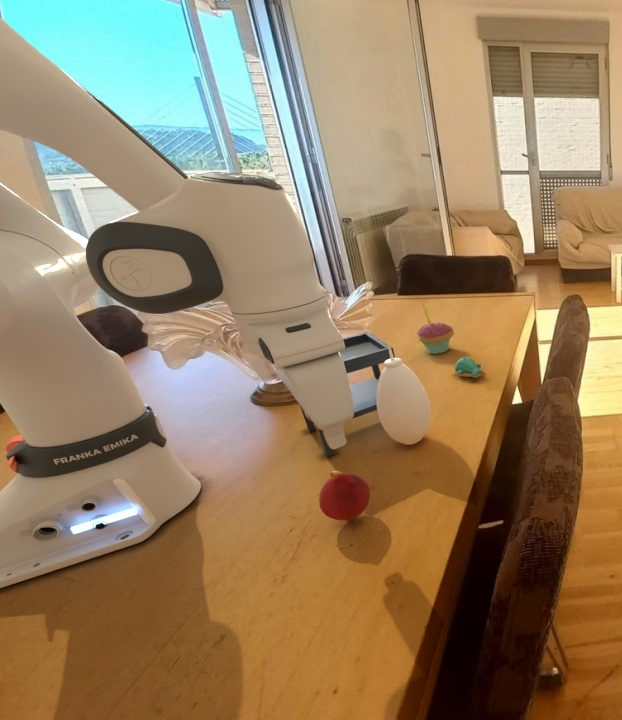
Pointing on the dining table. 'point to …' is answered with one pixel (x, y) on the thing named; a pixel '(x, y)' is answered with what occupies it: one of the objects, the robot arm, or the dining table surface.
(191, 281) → the robot arm
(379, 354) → the rack
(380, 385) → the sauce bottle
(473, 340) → the dining table surface
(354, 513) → the onion
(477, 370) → the teal animal figurine
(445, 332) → the cupcake
